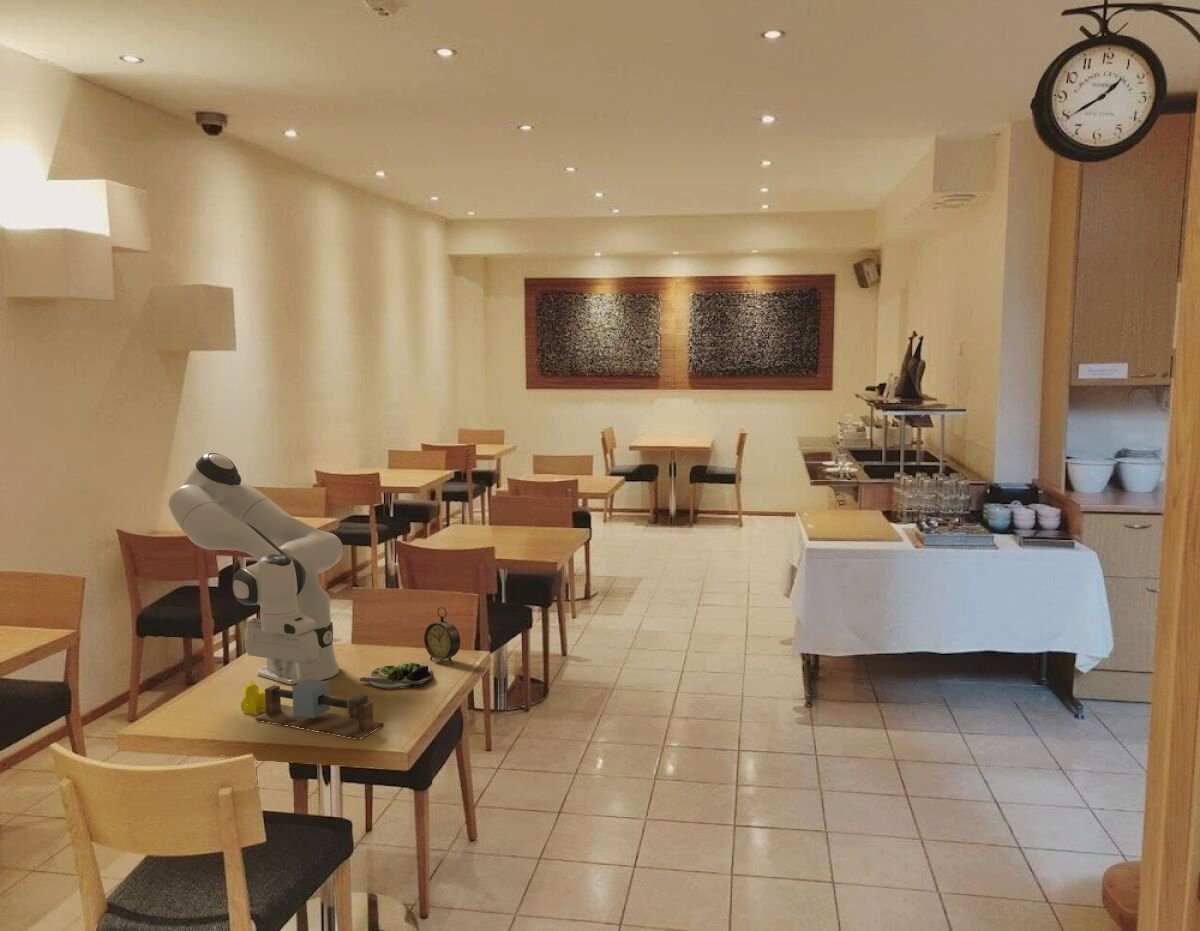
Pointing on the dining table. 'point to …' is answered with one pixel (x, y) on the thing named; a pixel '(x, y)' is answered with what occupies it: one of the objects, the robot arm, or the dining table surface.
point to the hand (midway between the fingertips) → (283, 676)
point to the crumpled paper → (253, 699)
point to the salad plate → (400, 676)
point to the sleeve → (310, 698)
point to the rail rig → (341, 725)
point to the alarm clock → (442, 639)
